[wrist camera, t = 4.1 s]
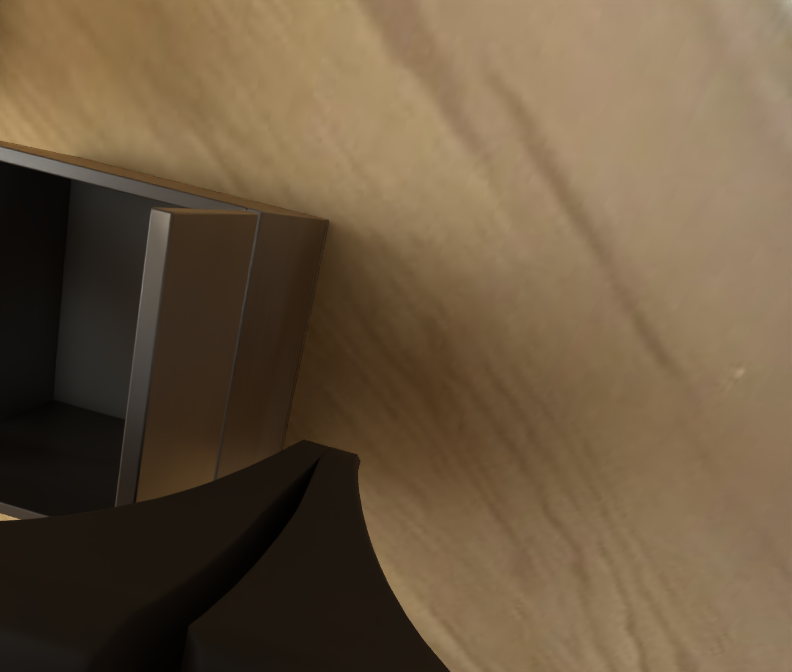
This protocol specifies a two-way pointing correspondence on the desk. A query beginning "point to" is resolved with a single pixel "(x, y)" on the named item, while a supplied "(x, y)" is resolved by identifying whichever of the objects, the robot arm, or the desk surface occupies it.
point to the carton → (122, 325)
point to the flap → (183, 349)
